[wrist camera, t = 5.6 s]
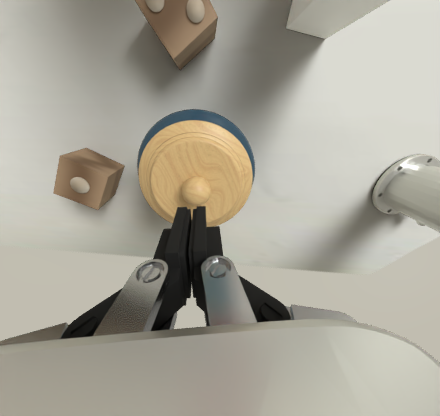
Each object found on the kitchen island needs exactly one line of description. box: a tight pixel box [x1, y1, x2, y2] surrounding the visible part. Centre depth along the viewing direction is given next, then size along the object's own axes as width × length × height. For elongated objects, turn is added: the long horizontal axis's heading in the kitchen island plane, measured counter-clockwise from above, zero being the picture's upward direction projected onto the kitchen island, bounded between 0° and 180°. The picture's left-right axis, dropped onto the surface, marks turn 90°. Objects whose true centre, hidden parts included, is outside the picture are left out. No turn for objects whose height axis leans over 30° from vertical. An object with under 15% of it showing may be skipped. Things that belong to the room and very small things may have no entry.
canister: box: [137, 109, 255, 227], centre depth 22 cm, size 13×13×18 cm
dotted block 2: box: [135, 0, 218, 70], centre depth 20 cm, size 6×6×6 cm
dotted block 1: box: [54, 148, 124, 210], centre depth 28 cm, size 6×6×6 cm
